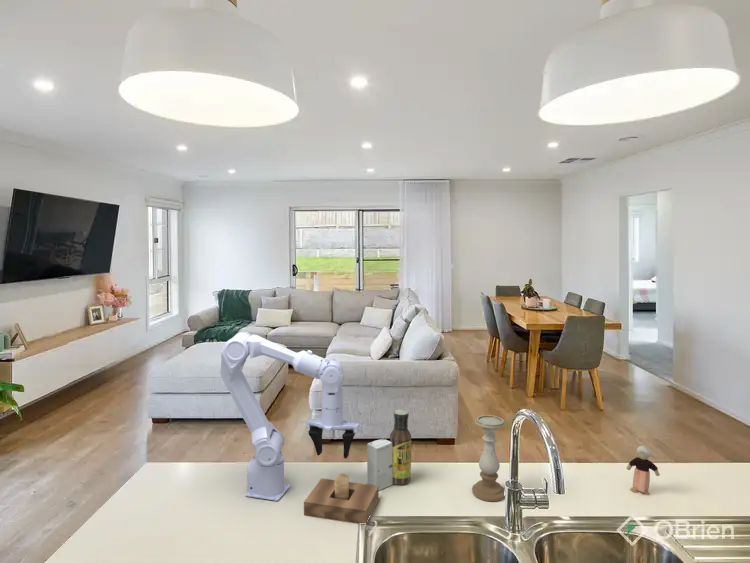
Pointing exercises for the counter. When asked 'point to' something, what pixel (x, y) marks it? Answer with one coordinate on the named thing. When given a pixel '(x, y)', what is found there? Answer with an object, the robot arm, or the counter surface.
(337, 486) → the oak peg
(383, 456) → the skincare box
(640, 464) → the grandmother figurine
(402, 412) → the sauce bottle
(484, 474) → the candle holder
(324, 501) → the walnut board
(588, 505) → the counter surface
